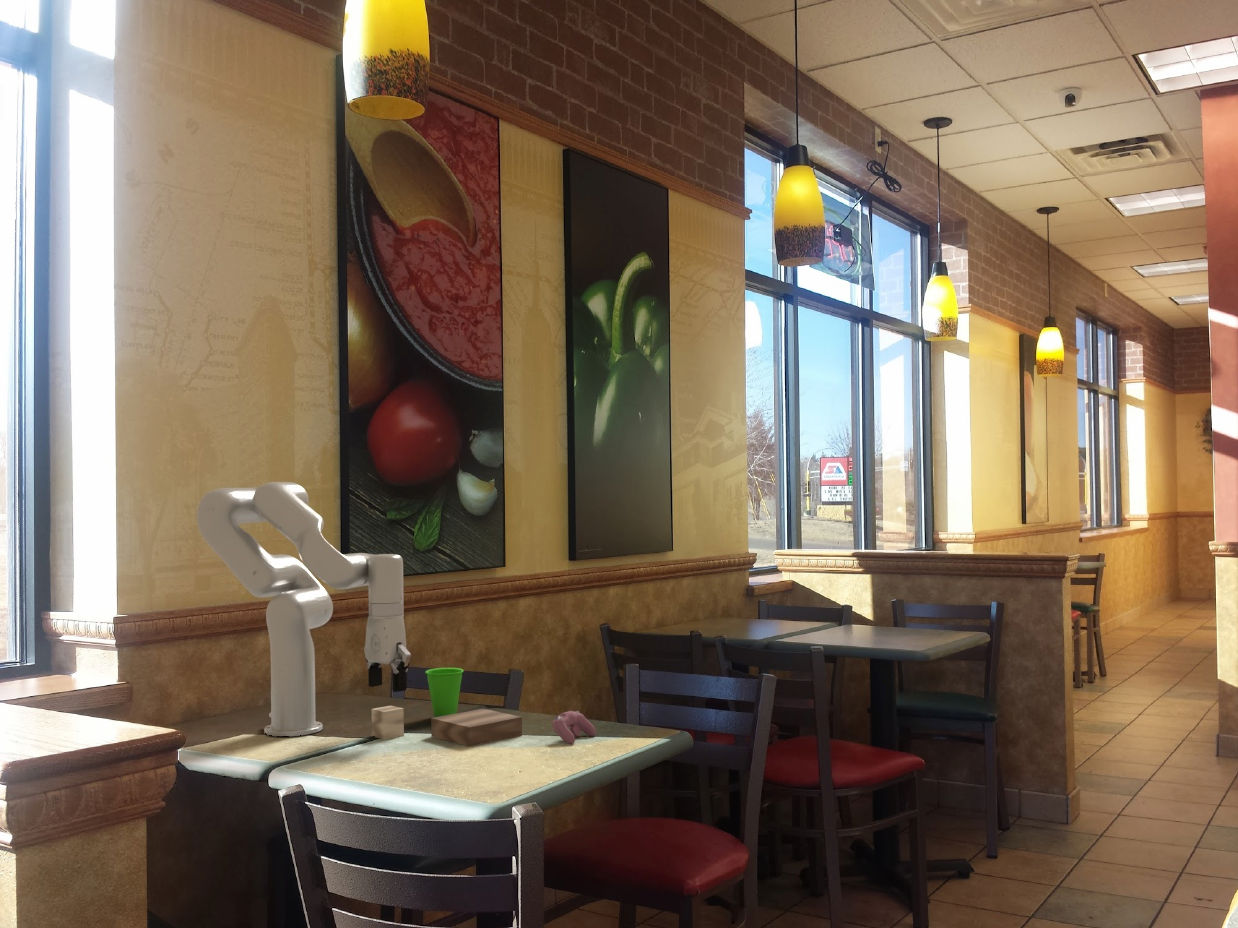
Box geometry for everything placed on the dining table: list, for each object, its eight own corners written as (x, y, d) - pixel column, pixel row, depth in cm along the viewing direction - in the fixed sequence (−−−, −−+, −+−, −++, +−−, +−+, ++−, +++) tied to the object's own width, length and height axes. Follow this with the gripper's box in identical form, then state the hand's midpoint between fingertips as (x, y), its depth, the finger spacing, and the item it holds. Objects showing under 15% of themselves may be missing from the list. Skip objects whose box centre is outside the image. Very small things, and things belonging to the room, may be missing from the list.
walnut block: (431, 736, 241) (431, 717, 241) (483, 726, 250) (483, 708, 250) (469, 746, 231) (469, 727, 231) (522, 735, 240) (521, 716, 240)
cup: (457, 721, 256) (457, 673, 256) (420, 720, 257) (419, 673, 258) (469, 713, 265) (468, 667, 265) (432, 713, 266) (432, 667, 267)
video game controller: (583, 741, 241) (570, 711, 242) (599, 733, 239) (586, 703, 240) (558, 750, 232) (545, 719, 234) (574, 743, 230) (561, 711, 232)
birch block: (371, 736, 242) (371, 708, 242) (391, 732, 246) (391, 705, 246) (384, 739, 239) (383, 711, 239) (403, 735, 242) (403, 708, 242)
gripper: (350, 609, 247) (351, 686, 246) (392, 614, 234) (393, 695, 234) (380, 606, 252) (381, 681, 251) (422, 611, 239) (423, 690, 239)
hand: (387, 688), depth 242 cm, fingers open, 9 cm apart
